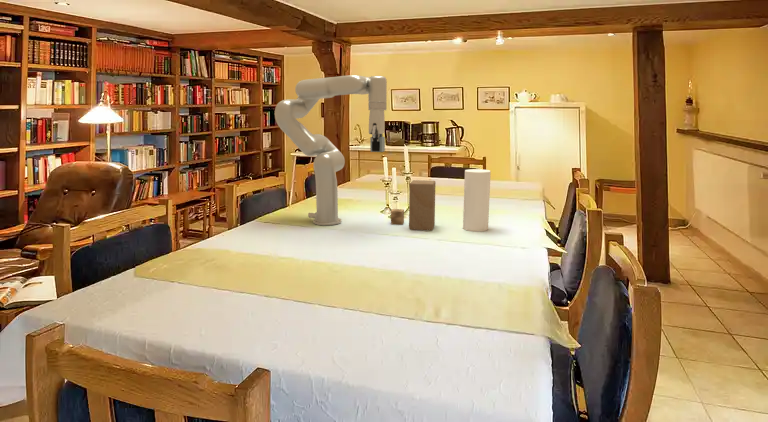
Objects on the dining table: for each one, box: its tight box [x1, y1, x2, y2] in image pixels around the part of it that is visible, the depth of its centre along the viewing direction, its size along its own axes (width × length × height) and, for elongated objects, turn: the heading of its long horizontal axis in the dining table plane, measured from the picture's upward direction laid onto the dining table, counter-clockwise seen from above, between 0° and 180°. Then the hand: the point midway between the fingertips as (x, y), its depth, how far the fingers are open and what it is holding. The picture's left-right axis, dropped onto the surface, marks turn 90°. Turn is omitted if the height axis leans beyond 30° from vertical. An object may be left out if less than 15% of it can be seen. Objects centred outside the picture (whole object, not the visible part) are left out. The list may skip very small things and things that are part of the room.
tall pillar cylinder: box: [462, 168, 492, 232], centre depth 219 cm, size 11×11×25 cm
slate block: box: [369, 136, 386, 153], centre depth 217 cm, size 5×5×6 cm
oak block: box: [390, 208, 405, 226], centre depth 231 cm, size 5×5×6 cm
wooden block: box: [408, 179, 436, 231], centre depth 221 cm, size 10×10×20 cm
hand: (377, 150), depth 217 cm, fingers closed on slate block, 5 cm apart
